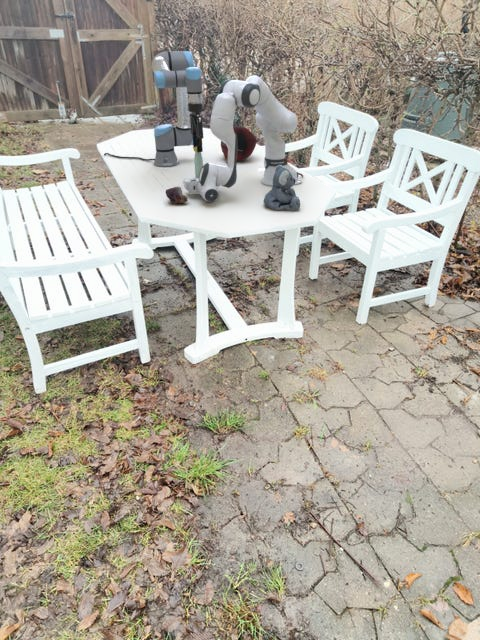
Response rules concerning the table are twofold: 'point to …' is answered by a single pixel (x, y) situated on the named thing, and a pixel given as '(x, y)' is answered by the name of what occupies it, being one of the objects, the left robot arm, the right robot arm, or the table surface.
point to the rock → (176, 195)
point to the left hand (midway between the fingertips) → (197, 150)
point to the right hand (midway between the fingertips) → (199, 178)
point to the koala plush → (282, 191)
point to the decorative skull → (241, 143)
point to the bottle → (198, 163)
